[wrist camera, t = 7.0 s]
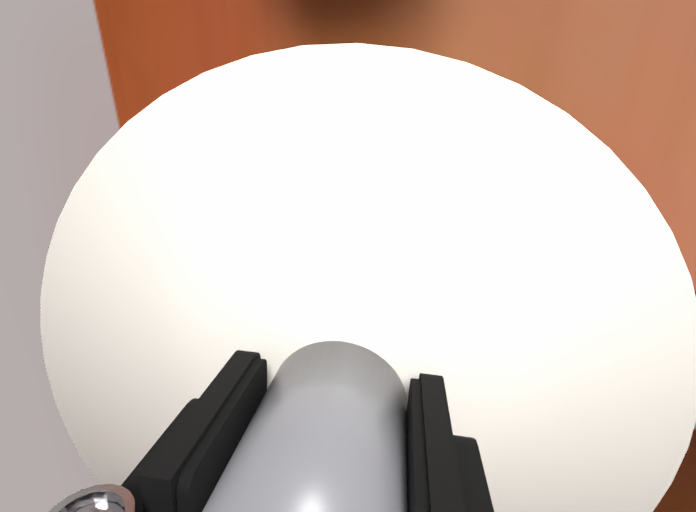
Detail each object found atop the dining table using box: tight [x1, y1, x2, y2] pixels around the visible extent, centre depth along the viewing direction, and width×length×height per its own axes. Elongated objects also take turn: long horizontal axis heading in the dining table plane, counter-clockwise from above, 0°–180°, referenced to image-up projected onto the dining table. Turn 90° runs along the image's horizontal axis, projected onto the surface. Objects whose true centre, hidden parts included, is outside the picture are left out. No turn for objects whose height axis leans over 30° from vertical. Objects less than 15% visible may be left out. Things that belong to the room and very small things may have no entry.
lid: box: [41, 43, 696, 512], centre depth 8 cm, size 17×17×6 cm
